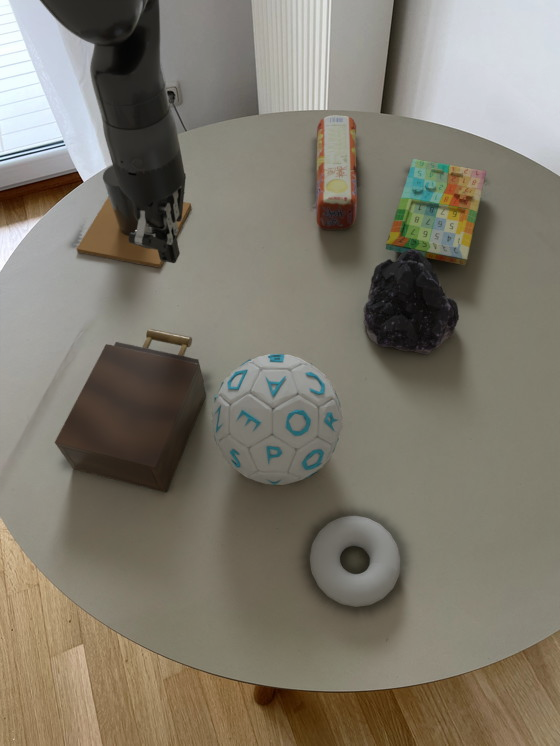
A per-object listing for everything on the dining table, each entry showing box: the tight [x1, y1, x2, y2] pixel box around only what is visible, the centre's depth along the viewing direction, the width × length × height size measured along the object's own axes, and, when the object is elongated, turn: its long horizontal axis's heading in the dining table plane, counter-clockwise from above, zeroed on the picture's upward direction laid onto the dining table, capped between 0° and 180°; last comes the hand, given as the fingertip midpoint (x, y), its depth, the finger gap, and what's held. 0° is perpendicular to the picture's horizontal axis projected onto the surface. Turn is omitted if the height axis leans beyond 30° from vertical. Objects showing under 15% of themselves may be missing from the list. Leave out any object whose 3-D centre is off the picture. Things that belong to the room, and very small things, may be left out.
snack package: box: [315, 114, 358, 231], centre depth 105 cm, size 21×7×7 cm, turn 177°
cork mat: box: [76, 196, 192, 269], centre depth 104 cm, size 14×14×1 cm
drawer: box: [113, 328, 205, 384], centre depth 83 cm, size 18×11×5 cm, turn 164°
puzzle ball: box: [211, 353, 343, 486], centre depth 75 cm, size 15×15×15 cm
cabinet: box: [54, 343, 207, 493], centre depth 81 cm, size 15×13×7 cm
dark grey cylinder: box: [102, 164, 138, 236], centre depth 100 cm, size 5×5×10 cm
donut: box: [309, 515, 401, 608], centre depth 72 cm, size 10×4×10 cm
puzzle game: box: [385, 158, 487, 266], centre depth 100 cm, size 12×5×20 cm
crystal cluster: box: [363, 249, 460, 355], centre depth 88 cm, size 13×14×10 cm
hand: (170, 258), depth 84 cm, fingers closed
